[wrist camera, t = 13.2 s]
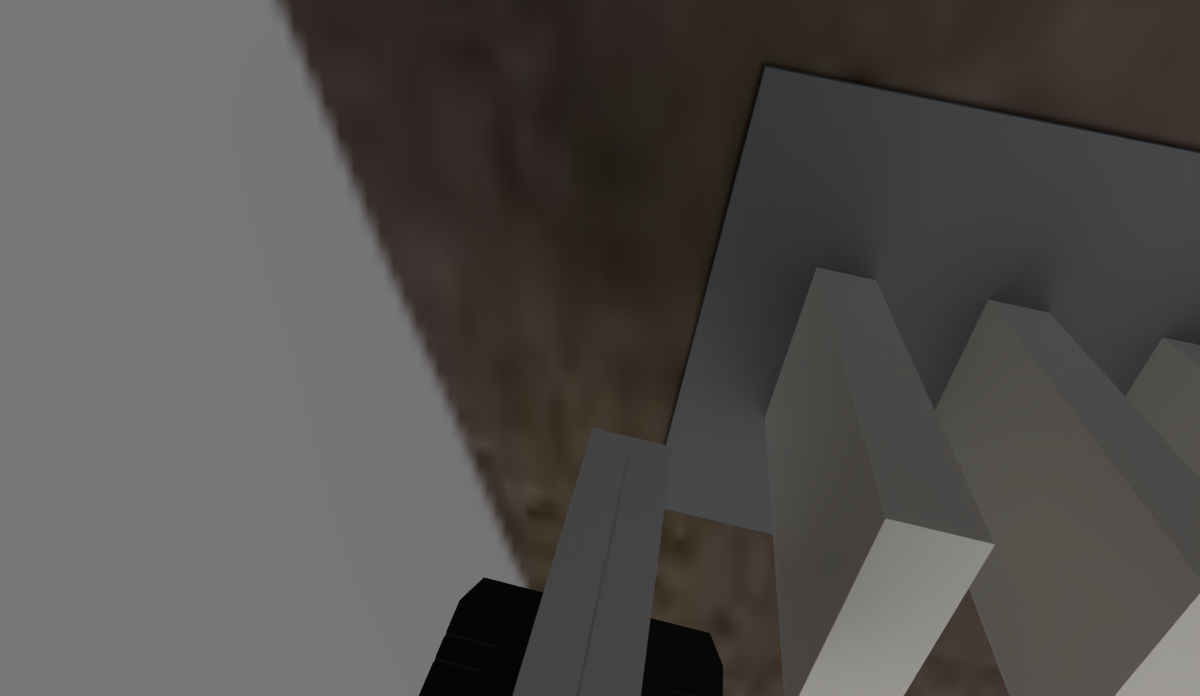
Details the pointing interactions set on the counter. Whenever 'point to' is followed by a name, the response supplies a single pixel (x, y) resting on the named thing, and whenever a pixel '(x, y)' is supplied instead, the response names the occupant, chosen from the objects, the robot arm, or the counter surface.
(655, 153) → the counter surface
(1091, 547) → the domino
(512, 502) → the counter surface
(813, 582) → the end domino
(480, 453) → the counter surface
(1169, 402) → the domino
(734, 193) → the mat
